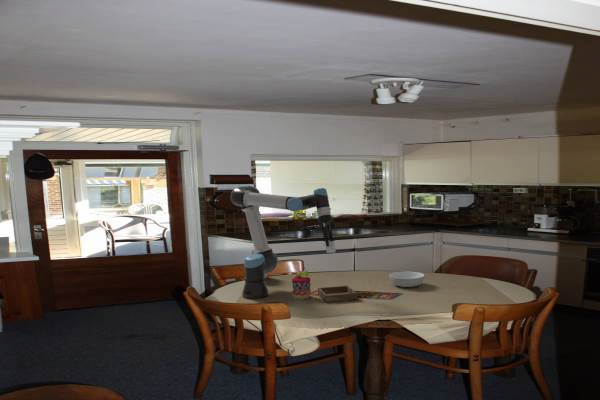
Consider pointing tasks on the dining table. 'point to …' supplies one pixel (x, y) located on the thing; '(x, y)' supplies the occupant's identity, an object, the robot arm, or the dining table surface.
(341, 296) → the box
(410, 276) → the serving bowl
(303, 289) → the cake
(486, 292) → the dining table surface
